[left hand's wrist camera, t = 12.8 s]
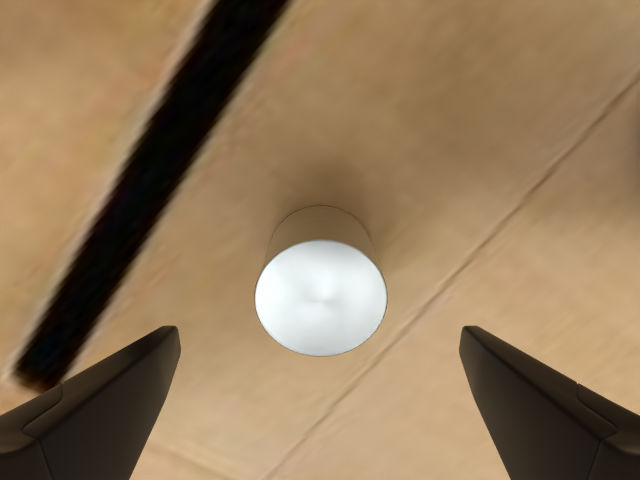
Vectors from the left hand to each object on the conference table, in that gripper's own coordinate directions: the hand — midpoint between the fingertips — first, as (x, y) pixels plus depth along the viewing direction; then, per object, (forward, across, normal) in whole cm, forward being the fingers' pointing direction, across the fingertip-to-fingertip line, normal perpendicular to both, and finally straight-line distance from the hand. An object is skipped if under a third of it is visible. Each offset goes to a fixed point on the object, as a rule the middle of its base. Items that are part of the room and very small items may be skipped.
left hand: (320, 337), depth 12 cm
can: (+7, 0, 0) cm, 7 cm away
